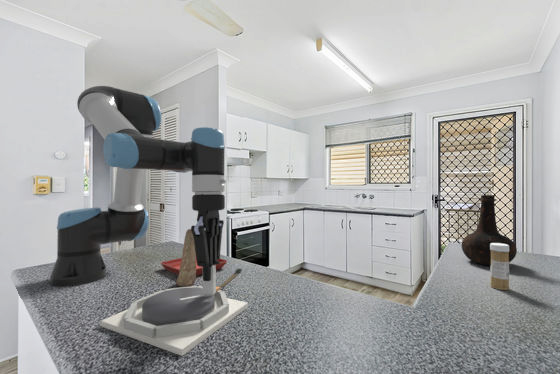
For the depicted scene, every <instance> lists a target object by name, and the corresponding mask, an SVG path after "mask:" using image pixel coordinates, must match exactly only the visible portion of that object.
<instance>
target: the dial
mask: <svg viewBox="0 0 560 374" xmlns="http://www.w3.org/2000/svg"><path fill="white" fill-rule="evenodd" d="M178 288H179V289H173V290H168V291H165V290H164V292H161V293H158V294H156V295H154V296H152V297H150V298H148V299H147V300H146V301H145V302H144V303H143V305H142V320H143V321H144V322H146V323H149V324H152V325H155V326H161V325H168V324H174V323H181V322H187V321H194V320H200V319H201V318H203V317H205V316H206V315H208V314H209V313H211V312H213V311H214V309H215V295H214V294H203V289H202V288H181V287H178Z"/></svg>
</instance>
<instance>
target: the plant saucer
mask: <svg viewBox="0 0 560 374" xmlns="http://www.w3.org/2000/svg"><path fill="white" fill-rule="evenodd" d="M181 259H182V257H180V258H176V259H171V260H166V261H161V262H160V265H161V266H162V267H163V268H164V269H165V270H166V271H168V272H170V273H174V274H175V275H177V276H179V270H180V265H181ZM217 261H220V263H219V264H215V265H216V271H218V270H221V269H223V267H224V266H225V265H226V264H227V263H228V260H226V259H223V258H220V259H219V260H218V259H217ZM200 275H203V267H201V266H198V265H197V260H196V276H200Z"/></svg>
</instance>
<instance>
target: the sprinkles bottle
mask: <svg viewBox="0 0 560 374" xmlns="http://www.w3.org/2000/svg"><path fill="white" fill-rule="evenodd" d="M490 249H491V266H490V287H491V288H494V289H497V290H501V291H508V290H510V287H509V286H510V263H509V245H507V244H502V243H491V244H490Z"/></svg>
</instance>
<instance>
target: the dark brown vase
mask: <svg viewBox="0 0 560 374" xmlns="http://www.w3.org/2000/svg"><path fill="white" fill-rule="evenodd" d="M480 197H481V198H480V199H479V201H480V211H479V219H478V223H477V227H476V229H475V230H474V231H473V232H472V233H469V234H467V235H465V236H464V237H463V239H462V240H461V245H460V246H461V250H462V252H463V255H465V257H466V258H467V259H468V260H469V261H471V262H473V263H475V264H479V265H483V266H488V267H491V249H490V244H491V243H502V244H507V245H509V264H510V263H512V261H514V259H515V257H516V256H517V251H518V250H517V246H516V244H515V242H514V241H513V240H512V239H510V238H509V237H507V236H506V235H502V234H501V233H500V232H499V230H498V227H497V220H496V219H497V218H496V208H495V201H496V202H497V201H498V199H496V198H495V195H493V194H482V195H481V196H480Z"/></svg>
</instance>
